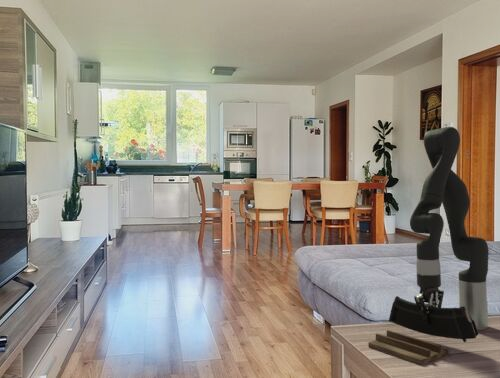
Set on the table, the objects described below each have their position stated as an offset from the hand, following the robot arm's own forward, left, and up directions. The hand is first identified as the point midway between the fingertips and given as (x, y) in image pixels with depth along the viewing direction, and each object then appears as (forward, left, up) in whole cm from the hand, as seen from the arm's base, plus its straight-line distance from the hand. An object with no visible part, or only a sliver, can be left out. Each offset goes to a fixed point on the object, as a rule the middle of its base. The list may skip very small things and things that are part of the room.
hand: (430, 322), depth 155 cm
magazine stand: (+12, 0, -7) cm, 14 cm away
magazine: (0, 0, -4) cm, 4 cm away
